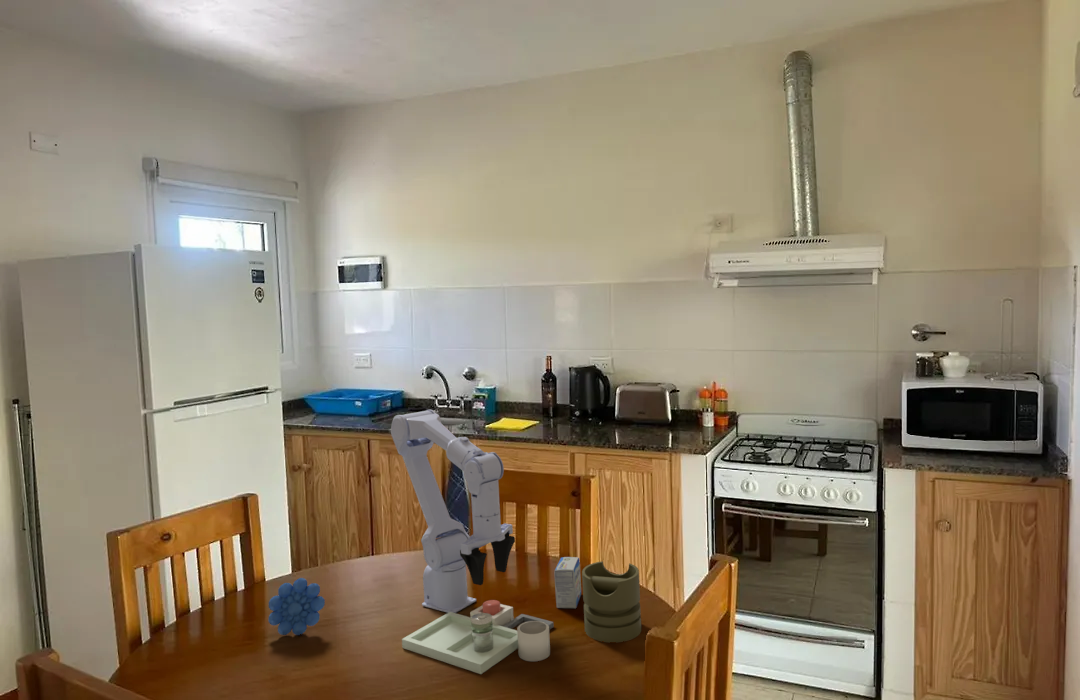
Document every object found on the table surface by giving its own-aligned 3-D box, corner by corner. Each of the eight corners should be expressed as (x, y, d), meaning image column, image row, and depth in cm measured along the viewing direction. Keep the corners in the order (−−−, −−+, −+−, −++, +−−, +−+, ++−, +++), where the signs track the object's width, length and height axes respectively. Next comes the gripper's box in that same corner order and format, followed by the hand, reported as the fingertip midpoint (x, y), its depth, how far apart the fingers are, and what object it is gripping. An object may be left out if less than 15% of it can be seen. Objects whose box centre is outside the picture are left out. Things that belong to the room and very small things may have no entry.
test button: (480, 623, 152) (479, 605, 152) (491, 617, 155) (490, 598, 155) (493, 627, 150) (492, 608, 150) (504, 620, 153) (503, 602, 152)
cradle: (498, 633, 148) (498, 629, 148) (522, 618, 154) (521, 613, 154) (530, 643, 143) (530, 638, 143) (553, 626, 150) (553, 622, 149)
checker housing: (471, 626, 152) (470, 612, 151) (489, 614, 157) (489, 601, 157) (495, 633, 148) (494, 618, 148) (513, 621, 153) (512, 607, 153)
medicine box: (576, 609, 157) (574, 570, 157) (555, 608, 158) (554, 569, 158) (581, 594, 165) (579, 556, 164) (562, 593, 166) (560, 556, 165)
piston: (632, 584, 139) (575, 579, 143) (634, 645, 140) (577, 639, 144) (643, 563, 150) (590, 558, 154) (646, 619, 151) (593, 614, 155)
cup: (512, 656, 138) (510, 630, 138) (530, 643, 143) (529, 617, 143) (538, 664, 135) (536, 637, 134) (556, 650, 140) (555, 624, 139)
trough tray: (402, 647, 144) (401, 639, 144) (450, 619, 155) (449, 611, 155) (481, 674, 132) (480, 664, 132) (526, 641, 144) (526, 633, 143)
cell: (468, 649, 140) (466, 617, 140) (481, 640, 144) (479, 609, 143) (485, 654, 138) (483, 621, 138) (498, 645, 142) (496, 613, 141)
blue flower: (331, 623, 156) (327, 568, 156) (324, 638, 150) (320, 581, 149) (275, 627, 156) (271, 572, 155) (266, 642, 149) (261, 585, 148)
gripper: (478, 525, 142) (482, 593, 143) (522, 506, 154) (526, 568, 155) (451, 520, 146) (455, 586, 147) (496, 502, 158) (499, 563, 159)
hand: (489, 577), depth 152 cm, fingers open, 7 cm apart
